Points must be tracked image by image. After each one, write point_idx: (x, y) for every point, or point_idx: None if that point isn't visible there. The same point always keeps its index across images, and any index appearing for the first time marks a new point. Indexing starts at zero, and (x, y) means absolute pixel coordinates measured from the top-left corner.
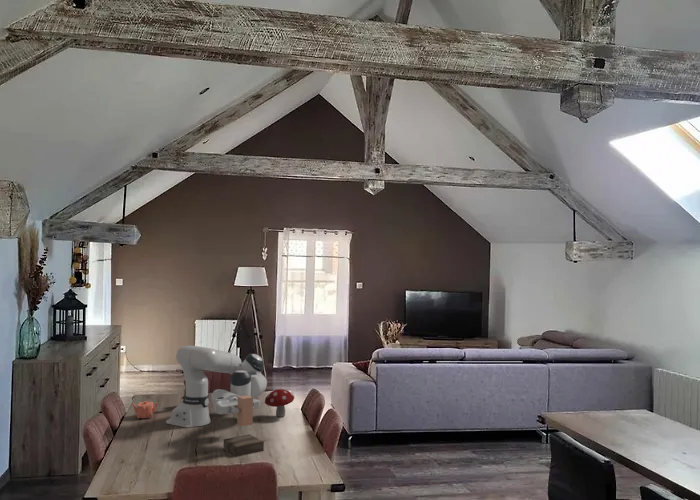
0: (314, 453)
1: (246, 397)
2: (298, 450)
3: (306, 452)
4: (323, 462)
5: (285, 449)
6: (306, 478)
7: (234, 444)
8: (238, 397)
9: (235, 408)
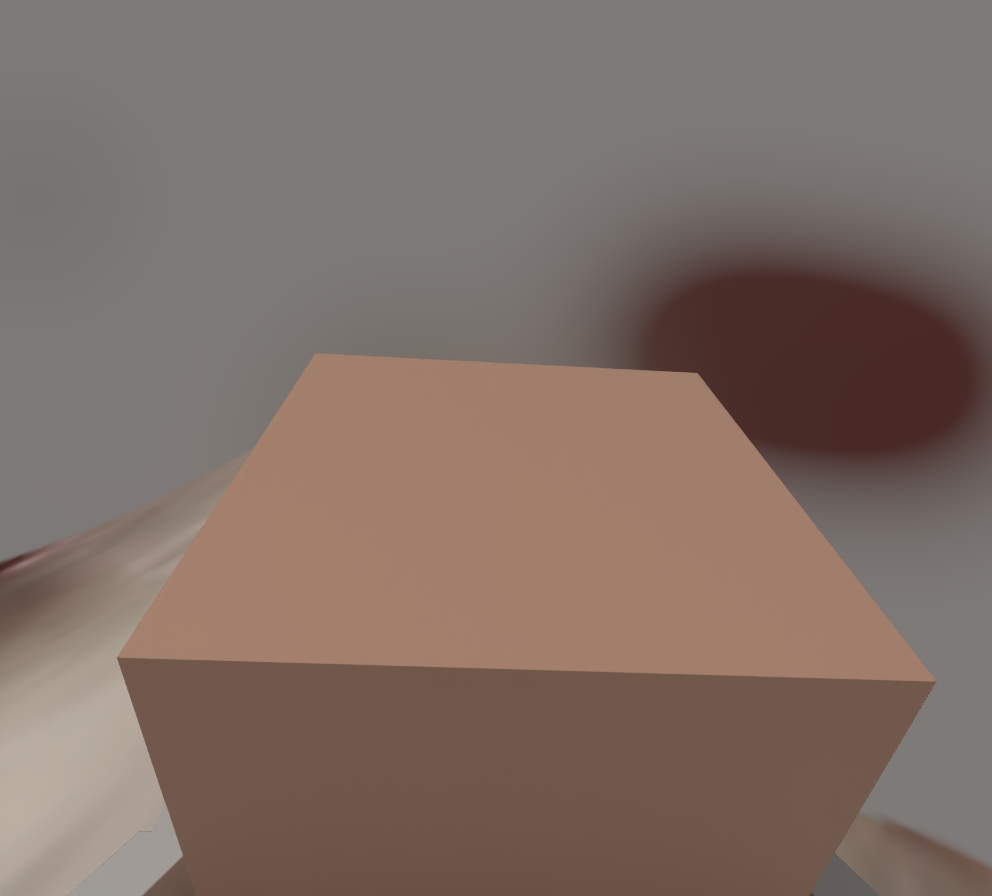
0: (74, 594)
1: (510, 417)
2: (60, 706)
3: (81, 636)
4: (211, 487)
5: (95, 803)
6: None
7: None
8: (859, 612)
9: (837, 863)
